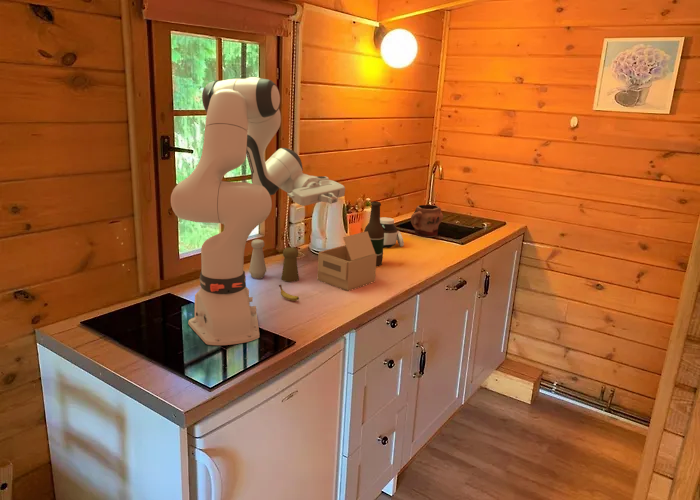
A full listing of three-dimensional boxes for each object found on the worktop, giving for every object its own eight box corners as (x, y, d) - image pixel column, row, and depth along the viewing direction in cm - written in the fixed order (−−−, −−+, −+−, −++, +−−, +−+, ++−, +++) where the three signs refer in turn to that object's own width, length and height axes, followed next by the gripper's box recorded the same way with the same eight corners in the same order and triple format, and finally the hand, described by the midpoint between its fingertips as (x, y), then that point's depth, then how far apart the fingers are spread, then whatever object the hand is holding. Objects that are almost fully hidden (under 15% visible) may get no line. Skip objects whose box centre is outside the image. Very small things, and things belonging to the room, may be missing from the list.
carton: (314, 280, 188) (315, 252, 186) (344, 270, 200) (346, 244, 197) (346, 291, 179) (347, 262, 176) (376, 281, 190) (377, 253, 188)
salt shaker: (262, 280, 185) (262, 243, 182) (246, 278, 186) (246, 241, 183) (268, 274, 191) (268, 238, 187) (252, 273, 192) (253, 237, 188)
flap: (342, 237, 178) (343, 237, 178) (366, 231, 187) (367, 231, 187) (350, 260, 178) (351, 260, 177) (374, 253, 186) (375, 253, 186)
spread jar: (369, 243, 236) (371, 217, 232) (389, 240, 242) (391, 215, 239) (387, 251, 227) (389, 223, 223) (408, 247, 233) (410, 221, 230)
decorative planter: (422, 242, 242) (425, 211, 238) (400, 236, 250) (402, 206, 246) (447, 235, 257) (450, 206, 253) (426, 229, 264) (428, 201, 261)
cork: (282, 282, 185) (282, 250, 182) (280, 276, 190) (280, 245, 187) (300, 281, 186) (300, 250, 183) (297, 275, 192) (298, 245, 189)
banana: (277, 297, 172) (277, 285, 171) (281, 295, 173) (281, 283, 172) (296, 304, 167) (297, 292, 166) (300, 302, 169) (300, 290, 167)
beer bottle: (374, 259, 214) (378, 199, 207) (386, 265, 208) (390, 203, 201) (357, 262, 210) (361, 200, 203) (369, 268, 204) (373, 204, 197)
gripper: (284, 184, 185) (311, 197, 176) (329, 175, 198) (356, 187, 190) (283, 202, 188) (310, 215, 179) (328, 192, 201) (354, 204, 193)
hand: (334, 200), depth 185 cm, fingers closed
